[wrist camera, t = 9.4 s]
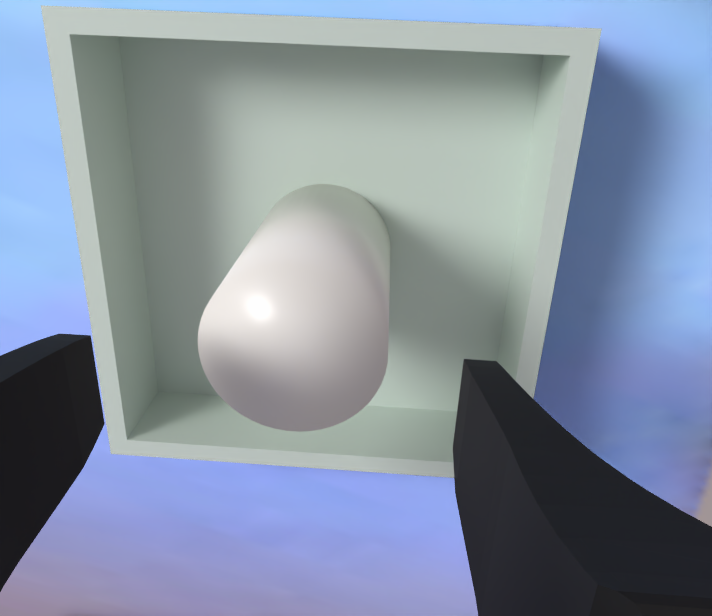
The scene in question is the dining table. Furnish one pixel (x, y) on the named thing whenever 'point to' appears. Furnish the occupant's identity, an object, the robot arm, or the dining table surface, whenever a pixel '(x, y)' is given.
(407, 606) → the dining table surface
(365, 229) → the white capsule cylinder
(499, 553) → the robot arm
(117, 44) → the tote
